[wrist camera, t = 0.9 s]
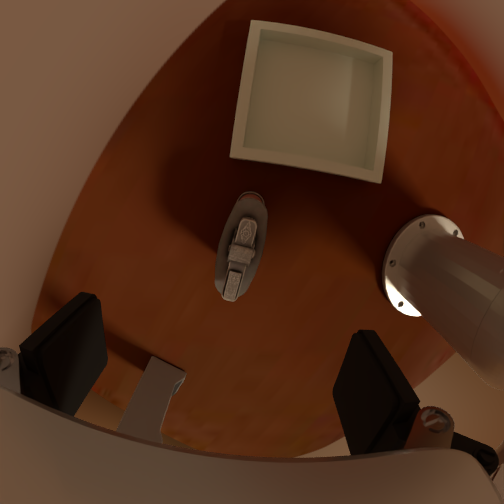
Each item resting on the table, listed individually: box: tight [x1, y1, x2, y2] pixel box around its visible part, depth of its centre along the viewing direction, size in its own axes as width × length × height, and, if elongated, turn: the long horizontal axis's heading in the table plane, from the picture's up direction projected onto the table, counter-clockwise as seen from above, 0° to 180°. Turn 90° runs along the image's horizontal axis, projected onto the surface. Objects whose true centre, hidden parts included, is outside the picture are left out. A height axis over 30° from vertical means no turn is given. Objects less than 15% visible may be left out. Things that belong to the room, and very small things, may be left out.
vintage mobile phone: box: [116, 356, 186, 443], centre depth 23 cm, size 4×5×25 cm
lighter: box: [215, 191, 268, 301], centre depth 24 cm, size 8×3×10 cm, turn 165°
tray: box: [230, 20, 392, 183], centre depth 24 cm, size 14×14×4 cm
